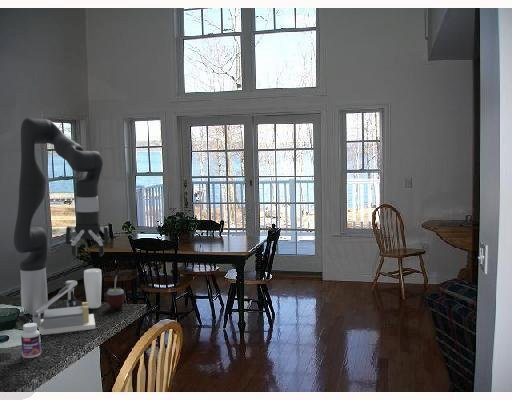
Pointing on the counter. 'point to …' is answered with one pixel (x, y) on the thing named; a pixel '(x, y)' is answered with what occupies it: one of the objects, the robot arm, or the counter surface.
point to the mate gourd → (115, 297)
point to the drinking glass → (93, 287)
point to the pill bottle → (30, 341)
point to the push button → (70, 294)
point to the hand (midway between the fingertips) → (88, 256)
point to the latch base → (65, 320)
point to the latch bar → (55, 298)
